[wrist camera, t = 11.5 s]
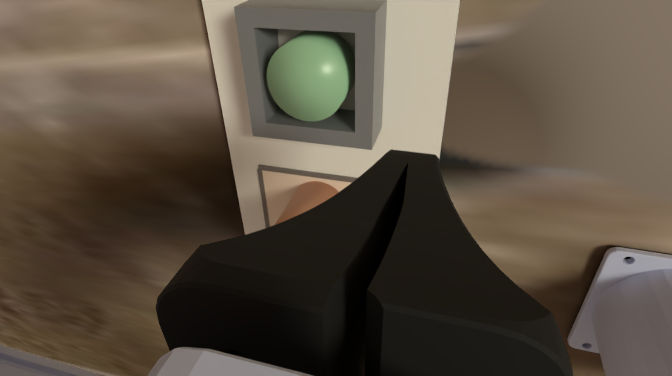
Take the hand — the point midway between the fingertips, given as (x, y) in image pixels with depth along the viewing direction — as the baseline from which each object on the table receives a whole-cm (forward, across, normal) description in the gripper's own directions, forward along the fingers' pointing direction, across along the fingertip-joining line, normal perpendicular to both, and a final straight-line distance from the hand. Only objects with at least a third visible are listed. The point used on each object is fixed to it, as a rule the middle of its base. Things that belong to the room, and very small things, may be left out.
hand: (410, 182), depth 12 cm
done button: (+9, +6, 0) cm, 10 cm away
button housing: (+9, +6, 0) cm, 11 cm away
